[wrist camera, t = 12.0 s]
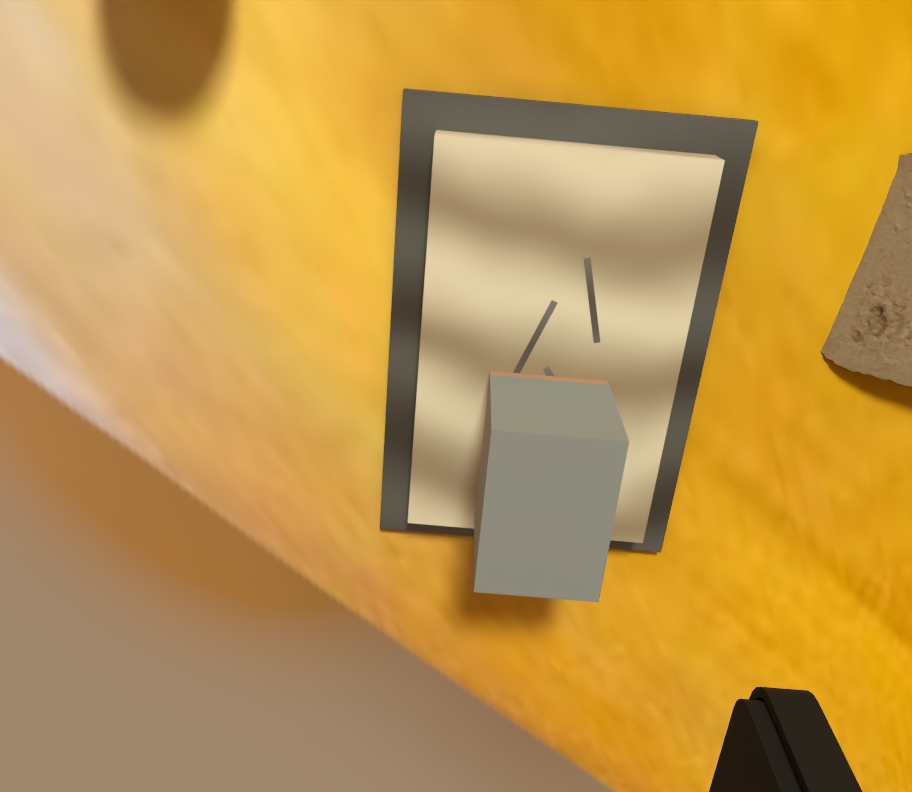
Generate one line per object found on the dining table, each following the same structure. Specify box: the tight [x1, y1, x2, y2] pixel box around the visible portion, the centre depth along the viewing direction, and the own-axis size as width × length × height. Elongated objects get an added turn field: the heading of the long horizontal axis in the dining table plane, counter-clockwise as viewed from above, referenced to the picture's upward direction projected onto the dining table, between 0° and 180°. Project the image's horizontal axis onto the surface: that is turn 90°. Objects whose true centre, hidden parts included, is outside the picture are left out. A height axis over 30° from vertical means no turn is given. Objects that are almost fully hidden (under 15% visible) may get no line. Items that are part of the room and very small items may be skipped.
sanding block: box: [474, 371, 629, 602], centre depth 37 cm, size 8×6×6 cm
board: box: [380, 89, 758, 552], centre depth 39 cm, size 22×15×2 cm
